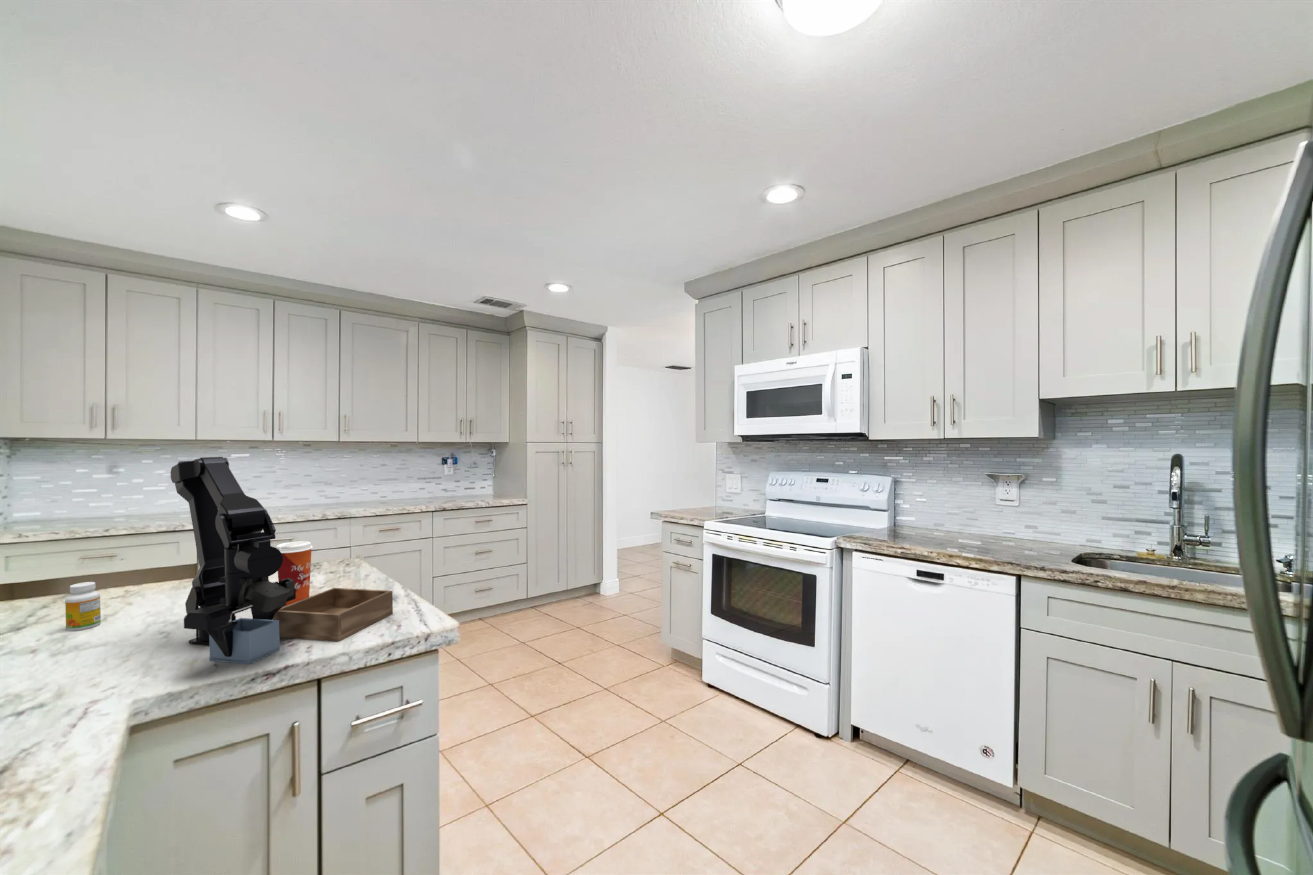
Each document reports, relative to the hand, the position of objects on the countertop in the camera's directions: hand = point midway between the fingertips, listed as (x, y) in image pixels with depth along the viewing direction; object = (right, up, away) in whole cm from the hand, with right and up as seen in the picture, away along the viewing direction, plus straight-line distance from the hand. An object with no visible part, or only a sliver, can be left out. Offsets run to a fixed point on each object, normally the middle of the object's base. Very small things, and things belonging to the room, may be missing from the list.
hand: (245, 649), depth 105 cm
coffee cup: (-12, -1, +33) cm, 35 cm away
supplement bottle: (-49, -2, +16) cm, 51 cm away
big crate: (+8, -1, +16) cm, 18 cm away
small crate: (0, -1, 0) cm, 1 cm away
